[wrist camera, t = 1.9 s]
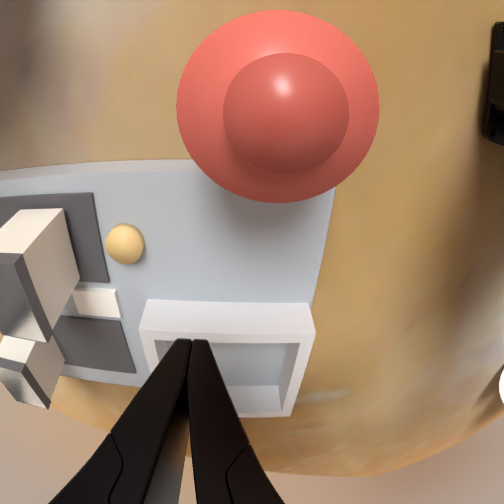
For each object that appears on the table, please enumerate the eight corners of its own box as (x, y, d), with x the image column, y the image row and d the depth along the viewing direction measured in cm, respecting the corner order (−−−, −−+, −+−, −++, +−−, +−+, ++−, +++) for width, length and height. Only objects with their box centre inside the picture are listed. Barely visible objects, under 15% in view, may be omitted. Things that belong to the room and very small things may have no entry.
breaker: (63, 207, 11) (13, 264, 8) (81, 278, 13) (48, 343, 10) (19, 208, 11) (-33, 260, 8) (39, 276, 13) (2, 334, 10)
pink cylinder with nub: (321, 42, 10) (406, 28, 5) (311, 146, 13) (373, 223, 7) (206, 34, 10) (172, 0, 4) (202, 140, 12) (172, 216, 7)
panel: (327, 166, 13) (376, 229, 8) (286, 373, 21) (296, 445, 16) (-37, 176, 12) (-101, 226, 7) (32, 353, 19) (7, 410, 15)
